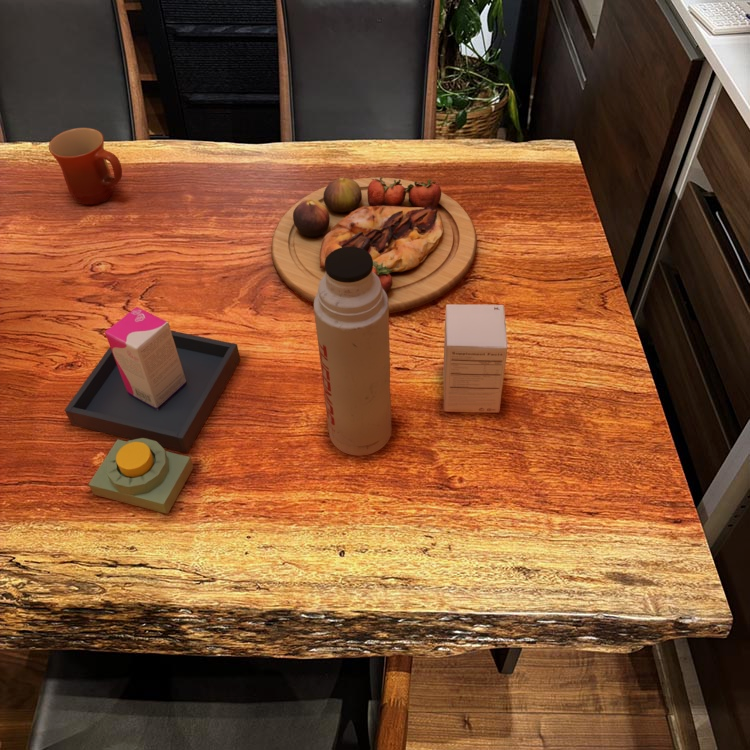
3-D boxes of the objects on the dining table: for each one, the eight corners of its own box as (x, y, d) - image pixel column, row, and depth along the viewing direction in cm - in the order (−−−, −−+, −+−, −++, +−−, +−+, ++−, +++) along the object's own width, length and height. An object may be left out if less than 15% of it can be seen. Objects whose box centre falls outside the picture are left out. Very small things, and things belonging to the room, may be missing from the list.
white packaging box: (442, 370, 108) (445, 301, 99) (497, 371, 108) (506, 303, 98) (441, 413, 103) (445, 345, 94) (499, 414, 103) (509, 346, 93)
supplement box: (188, 382, 107) (169, 321, 99) (157, 411, 104) (135, 351, 96) (157, 365, 110) (136, 304, 101) (126, 393, 106) (101, 333, 98)
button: (113, 473, 94) (109, 464, 93) (130, 447, 97) (126, 438, 95) (143, 481, 93) (140, 472, 92) (159, 454, 96) (156, 445, 95)
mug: (57, 203, 136) (36, 150, 129) (90, 175, 142) (71, 123, 134) (114, 219, 133) (96, 166, 125) (146, 190, 138) (130, 137, 130)
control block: (93, 494, 97) (83, 475, 94) (122, 449, 101) (113, 429, 98) (168, 514, 94) (160, 495, 91) (193, 467, 99) (187, 447, 96)
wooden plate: (452, 336, 112) (454, 292, 106) (241, 299, 119) (231, 255, 113) (493, 202, 133) (497, 158, 126) (310, 176, 139) (306, 134, 133)
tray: (71, 425, 104) (64, 410, 102) (133, 336, 114) (128, 321, 112) (187, 453, 100) (182, 438, 98) (240, 359, 111) (237, 343, 108)
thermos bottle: (329, 458, 99) (308, 289, 78) (327, 408, 104) (307, 238, 83) (394, 453, 99) (390, 284, 78) (389, 404, 104) (384, 232, 84)
